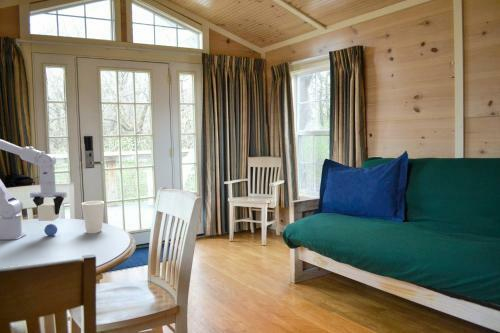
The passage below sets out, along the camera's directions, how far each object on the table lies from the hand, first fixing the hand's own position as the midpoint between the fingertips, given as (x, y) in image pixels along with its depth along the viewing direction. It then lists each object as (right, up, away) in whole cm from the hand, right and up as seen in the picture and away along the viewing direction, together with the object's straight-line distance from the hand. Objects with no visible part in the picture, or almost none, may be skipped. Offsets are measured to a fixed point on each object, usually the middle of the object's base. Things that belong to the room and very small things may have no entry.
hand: (49, 214), depth 176 cm
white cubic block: (0, -2, 0) cm, 2 cm away
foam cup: (+16, -9, +8) cm, 20 cm away
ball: (0, -7, +1) cm, 7 cm away
